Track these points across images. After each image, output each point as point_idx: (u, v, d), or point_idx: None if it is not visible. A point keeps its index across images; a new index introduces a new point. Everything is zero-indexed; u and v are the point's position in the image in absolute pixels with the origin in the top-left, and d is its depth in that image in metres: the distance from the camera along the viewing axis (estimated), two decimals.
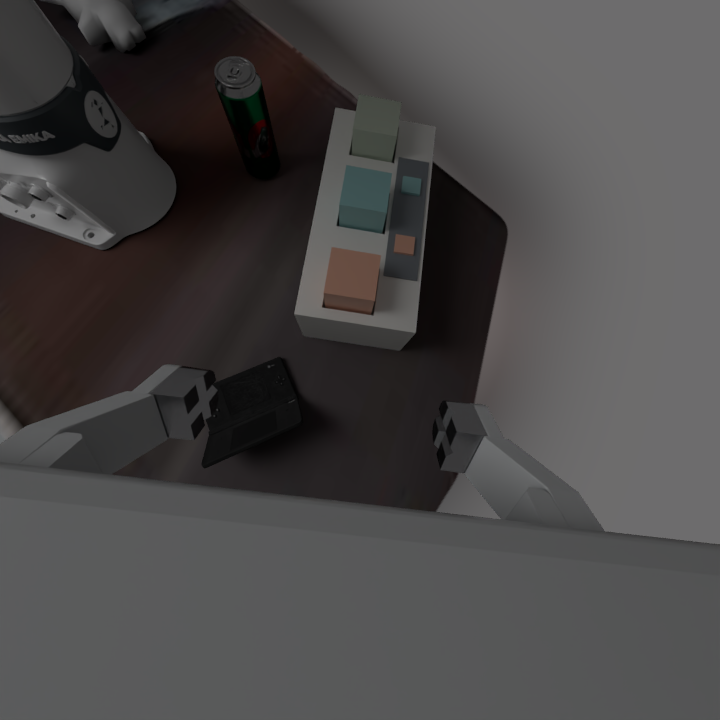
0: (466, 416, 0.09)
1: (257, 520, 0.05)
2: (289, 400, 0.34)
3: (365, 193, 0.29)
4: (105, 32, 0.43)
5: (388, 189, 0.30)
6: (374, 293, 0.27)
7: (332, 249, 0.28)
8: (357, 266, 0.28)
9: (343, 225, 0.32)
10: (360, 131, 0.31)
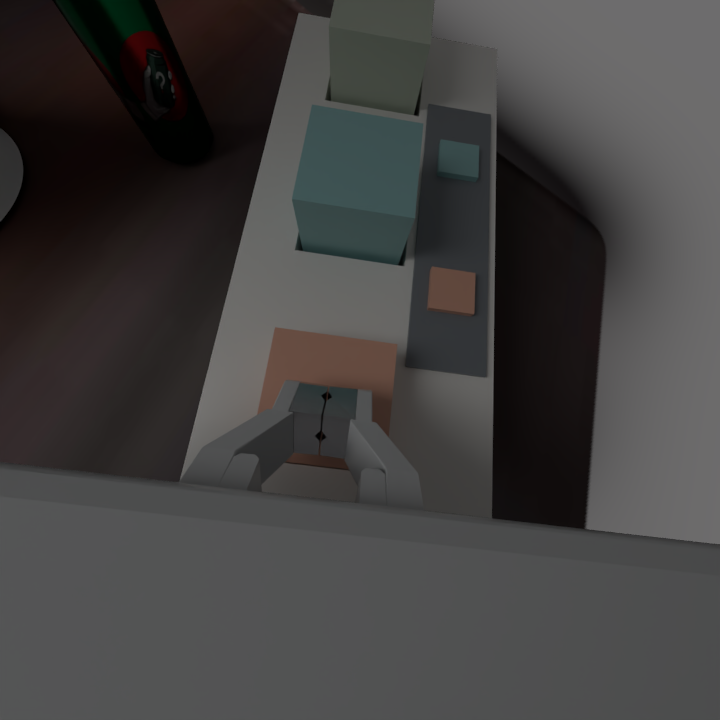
0: (342, 400, 0.09)
1: (257, 520, 0.05)
2: None
3: (359, 170, 0.12)
4: None
5: (416, 161, 0.12)
6: None
7: (276, 333, 0.11)
8: (339, 376, 0.11)
9: (311, 248, 0.14)
10: (346, 34, 0.14)
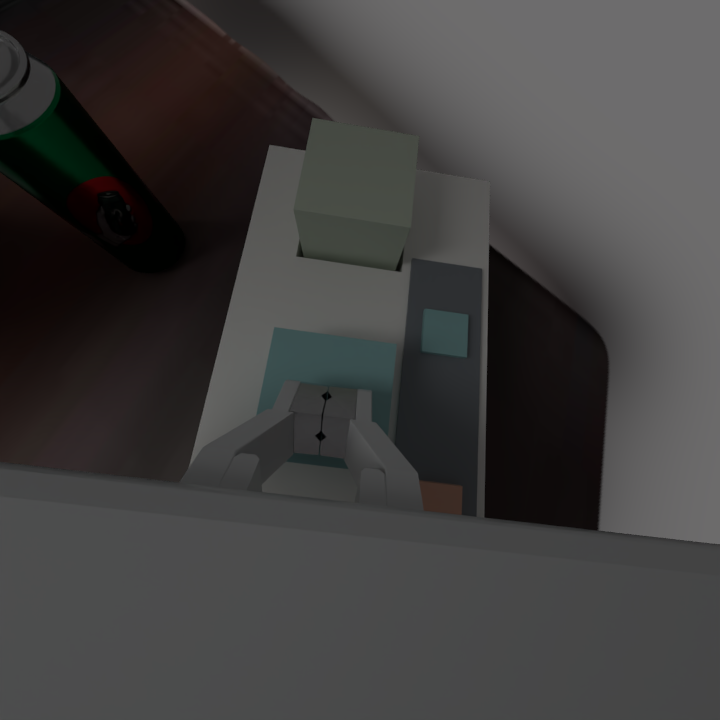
0: (342, 400, 0.09)
1: (257, 520, 0.05)
2: None
3: None
4: None
5: (388, 395, 0.11)
6: None
7: None
8: None
9: None
10: (314, 215, 0.12)
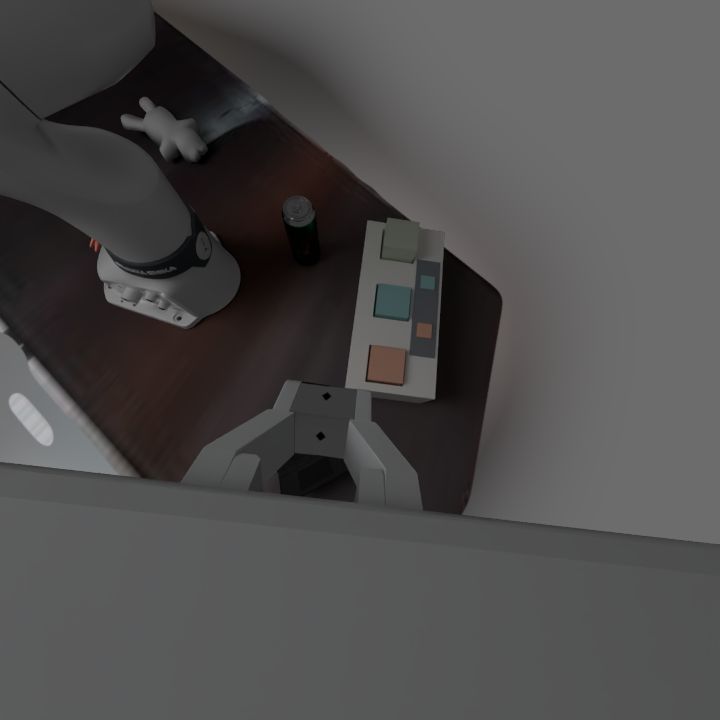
0: (342, 400, 0.09)
1: (257, 520, 0.05)
2: None
3: (393, 303, 0.42)
4: (177, 150, 0.54)
5: (409, 300, 0.42)
6: (402, 378, 0.40)
7: (372, 347, 0.40)
8: (390, 358, 0.40)
9: None
10: (389, 247, 0.42)
